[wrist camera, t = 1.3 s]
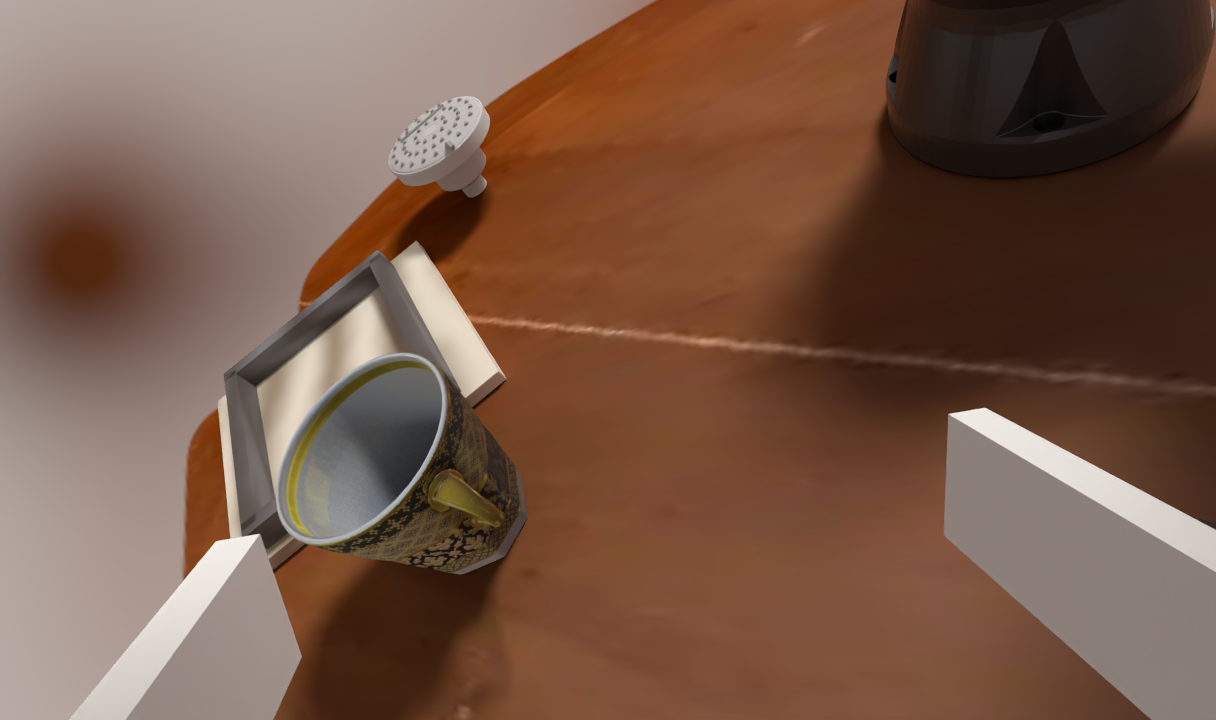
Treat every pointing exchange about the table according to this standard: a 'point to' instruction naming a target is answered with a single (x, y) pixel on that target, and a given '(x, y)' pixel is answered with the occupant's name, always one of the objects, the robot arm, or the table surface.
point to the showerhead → (444, 147)
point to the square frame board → (336, 373)
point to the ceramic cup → (400, 472)
